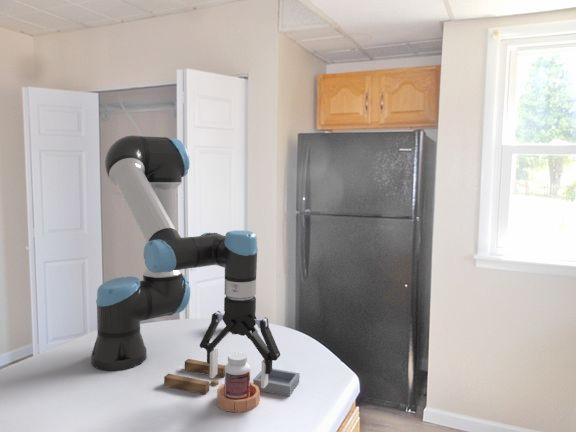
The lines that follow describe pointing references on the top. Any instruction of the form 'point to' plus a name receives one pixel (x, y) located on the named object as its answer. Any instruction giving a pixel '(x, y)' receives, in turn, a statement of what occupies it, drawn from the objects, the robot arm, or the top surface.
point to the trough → (279, 382)
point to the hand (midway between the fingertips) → (238, 380)
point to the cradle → (192, 383)
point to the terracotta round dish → (238, 404)
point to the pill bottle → (237, 377)
